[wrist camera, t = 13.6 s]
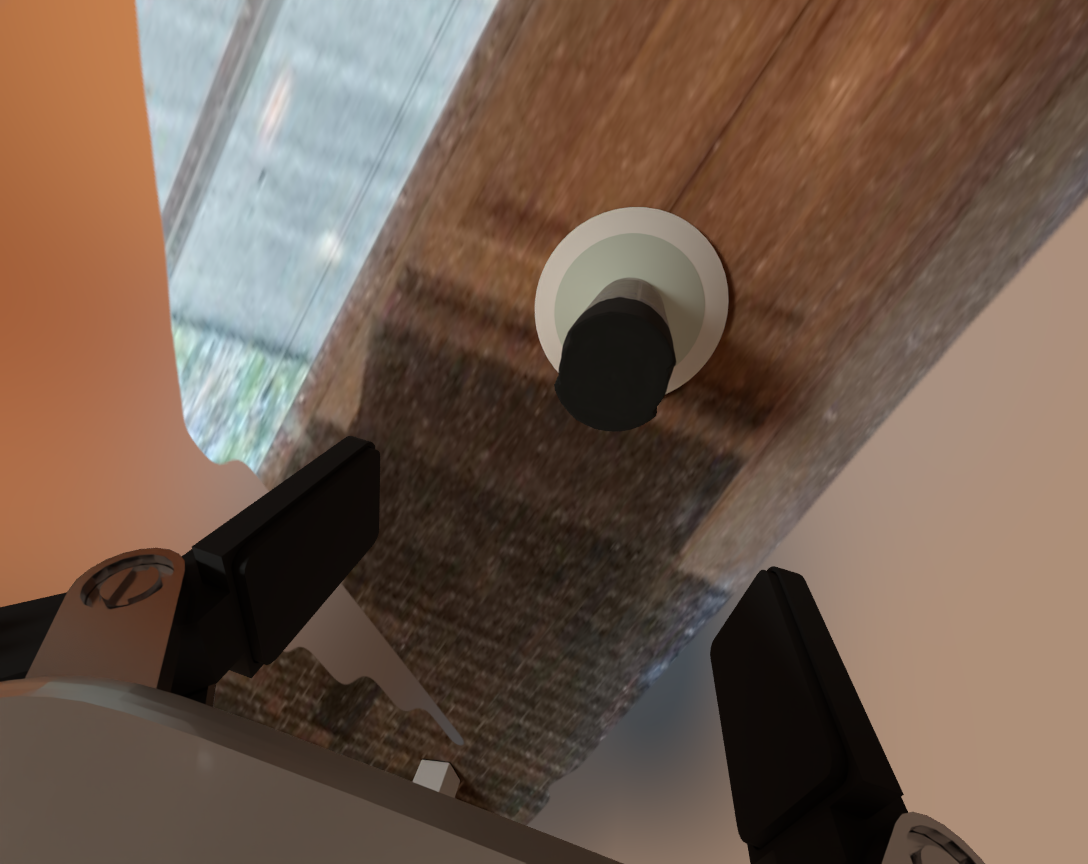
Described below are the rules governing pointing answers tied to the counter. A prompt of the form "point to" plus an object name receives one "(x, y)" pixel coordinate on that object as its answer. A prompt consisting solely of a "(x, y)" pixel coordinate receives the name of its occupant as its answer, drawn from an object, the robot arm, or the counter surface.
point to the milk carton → (437, 777)
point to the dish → (651, 255)
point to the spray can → (617, 358)
